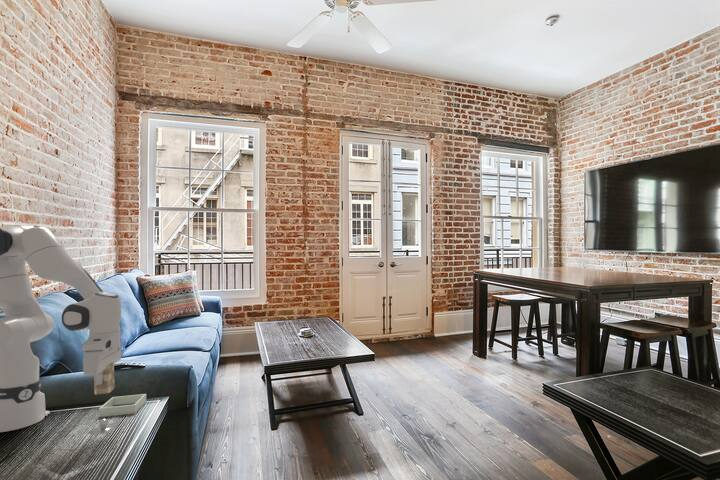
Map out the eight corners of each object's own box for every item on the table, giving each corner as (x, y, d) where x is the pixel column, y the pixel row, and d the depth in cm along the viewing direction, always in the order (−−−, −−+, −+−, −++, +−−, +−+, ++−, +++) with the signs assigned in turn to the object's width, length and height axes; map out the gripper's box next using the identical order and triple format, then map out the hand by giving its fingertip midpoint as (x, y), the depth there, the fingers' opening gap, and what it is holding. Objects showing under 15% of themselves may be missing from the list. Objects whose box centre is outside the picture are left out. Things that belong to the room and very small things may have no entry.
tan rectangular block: (99, 389, 125) (99, 363, 126) (114, 387, 127) (113, 361, 127) (94, 394, 121) (93, 367, 121) (109, 392, 122) (108, 365, 123)
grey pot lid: (83, 434, 121) (83, 421, 121) (109, 424, 128) (109, 412, 128) (96, 439, 117) (96, 426, 118) (122, 429, 124) (122, 416, 125)
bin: (98, 419, 133) (98, 408, 133) (112, 407, 144) (112, 397, 145) (135, 415, 135) (135, 404, 136) (146, 403, 147) (146, 393, 147)
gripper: (107, 334, 134) (106, 373, 133) (79, 347, 114) (77, 392, 113) (127, 333, 136) (125, 371, 135) (102, 345, 116) (100, 390, 115)
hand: (103, 381), depth 124 cm, fingers closed on tan rectangular block, 4 cm apart
